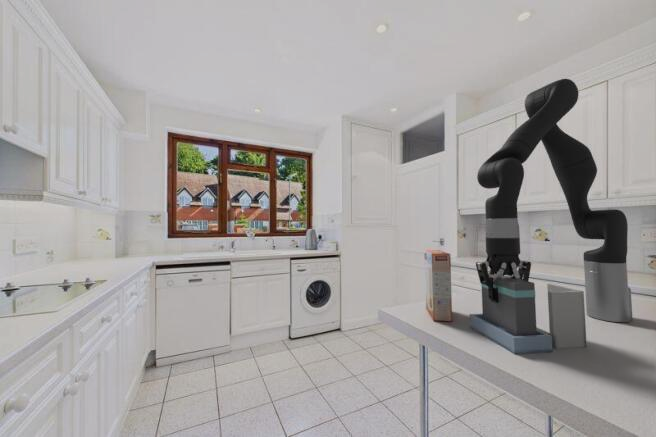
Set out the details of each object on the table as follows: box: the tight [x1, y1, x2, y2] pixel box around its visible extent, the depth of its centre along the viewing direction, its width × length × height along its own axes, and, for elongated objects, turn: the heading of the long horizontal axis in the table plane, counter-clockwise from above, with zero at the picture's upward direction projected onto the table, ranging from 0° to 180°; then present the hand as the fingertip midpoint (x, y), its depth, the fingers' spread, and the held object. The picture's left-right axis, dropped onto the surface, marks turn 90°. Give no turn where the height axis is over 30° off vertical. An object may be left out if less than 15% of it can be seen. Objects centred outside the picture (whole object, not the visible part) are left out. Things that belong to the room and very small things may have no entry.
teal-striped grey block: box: [480, 274, 537, 335], centre depth 68 cm, size 5×12×12 cm, turn 4°
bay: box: [536, 283, 587, 350], centre depth 67 cm, size 8×9×13 cm
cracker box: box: [424, 249, 453, 322], centre depth 88 cm, size 14×6×21 cm, turn 168°
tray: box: [468, 313, 553, 355], centre depth 69 cm, size 9×17×4 cm, turn 5°
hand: (504, 301), depth 69 cm, fingers closed on teal-striped grey block, 5 cm apart
